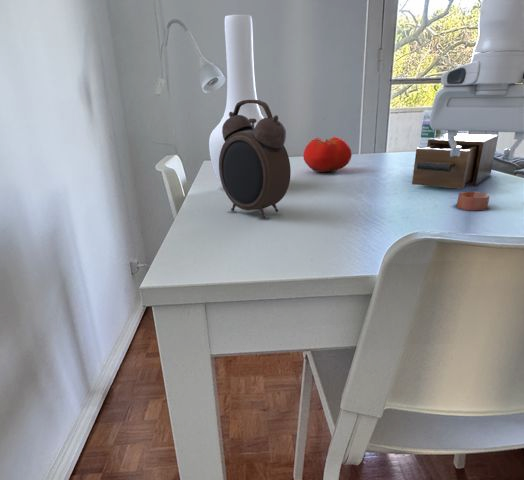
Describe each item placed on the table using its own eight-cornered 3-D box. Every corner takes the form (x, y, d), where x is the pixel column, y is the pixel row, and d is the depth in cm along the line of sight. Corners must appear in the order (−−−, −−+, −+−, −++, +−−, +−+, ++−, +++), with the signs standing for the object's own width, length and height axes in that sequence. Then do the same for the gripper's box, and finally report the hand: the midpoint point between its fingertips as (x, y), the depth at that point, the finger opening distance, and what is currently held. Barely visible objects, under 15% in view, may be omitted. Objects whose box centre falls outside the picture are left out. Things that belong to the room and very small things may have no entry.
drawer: (456, 192, 100) (462, 153, 96) (404, 188, 106) (408, 151, 102) (478, 178, 113) (484, 143, 109) (430, 175, 119) (435, 141, 115)
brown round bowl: (490, 205, 93) (492, 193, 92) (483, 211, 89) (485, 198, 88) (461, 202, 96) (463, 190, 95) (453, 208, 92) (455, 196, 91)
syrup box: (415, 165, 138) (422, 110, 130) (423, 163, 142) (430, 109, 134) (434, 167, 134) (442, 110, 127) (442, 164, 138) (450, 109, 131)
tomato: (293, 174, 131) (293, 139, 127) (311, 167, 141) (311, 135, 136) (340, 176, 126) (342, 141, 121) (355, 169, 135) (357, 136, 131)
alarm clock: (216, 211, 96) (207, 100, 86) (242, 205, 100) (236, 98, 90) (268, 223, 87) (265, 100, 77) (294, 215, 91) (294, 98, 81)
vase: (210, 195, 110) (194, 12, 92) (214, 182, 124) (202, 21, 107) (281, 192, 110) (279, 9, 93) (277, 179, 125) (275, 19, 107)
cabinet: (475, 185, 110) (483, 141, 106) (422, 181, 117) (428, 139, 112) (490, 176, 121) (498, 135, 116) (440, 172, 127) (446, 133, 122)
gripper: (567, 70, 78) (545, 159, 85) (443, 74, 89) (432, 153, 96) (563, 70, 74) (539, 163, 81) (432, 74, 84) (421, 157, 91)
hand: (480, 158), depth 88 cm, fingers open, 8 cm apart
